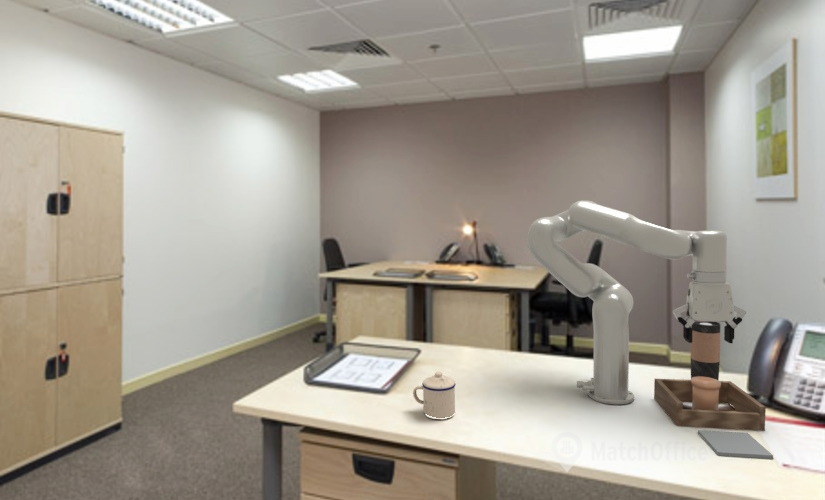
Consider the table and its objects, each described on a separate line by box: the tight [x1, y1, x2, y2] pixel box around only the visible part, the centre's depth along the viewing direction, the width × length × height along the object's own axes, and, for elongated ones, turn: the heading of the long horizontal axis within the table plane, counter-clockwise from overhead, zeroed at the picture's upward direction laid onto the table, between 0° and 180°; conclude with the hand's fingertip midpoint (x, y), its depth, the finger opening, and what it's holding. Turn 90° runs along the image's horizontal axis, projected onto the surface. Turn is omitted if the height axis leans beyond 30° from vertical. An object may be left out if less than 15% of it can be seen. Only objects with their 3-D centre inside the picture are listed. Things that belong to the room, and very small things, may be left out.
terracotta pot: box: [690, 376, 721, 411], centre depth 128 cm, size 7×7×9 cm
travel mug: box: [690, 321, 721, 381], centre depth 147 cm, size 8×8×20 cm
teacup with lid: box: [412, 371, 456, 418], centre depth 132 cm, size 12×9×12 cm
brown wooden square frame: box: [653, 378, 767, 432], centre depth 128 cm, size 20×18×6 cm
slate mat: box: [697, 429, 774, 460], centre depth 111 cm, size 11×11×1 cm
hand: (708, 341), depth 127 cm, fingers open, 9 cm apart
